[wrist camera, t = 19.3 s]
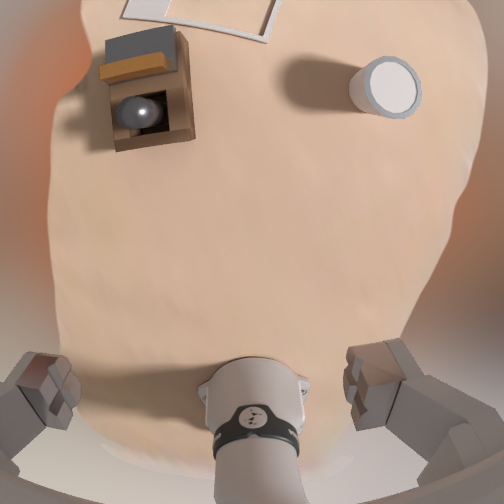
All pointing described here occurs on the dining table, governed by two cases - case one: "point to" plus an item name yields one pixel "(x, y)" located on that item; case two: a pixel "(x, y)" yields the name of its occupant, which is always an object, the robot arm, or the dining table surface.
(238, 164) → the dining table surface
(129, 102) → the peg
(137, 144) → the dock
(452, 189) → the dining table surface
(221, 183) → the dining table surface
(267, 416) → the robot arm
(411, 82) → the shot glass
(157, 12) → the photo frame
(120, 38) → the bar
